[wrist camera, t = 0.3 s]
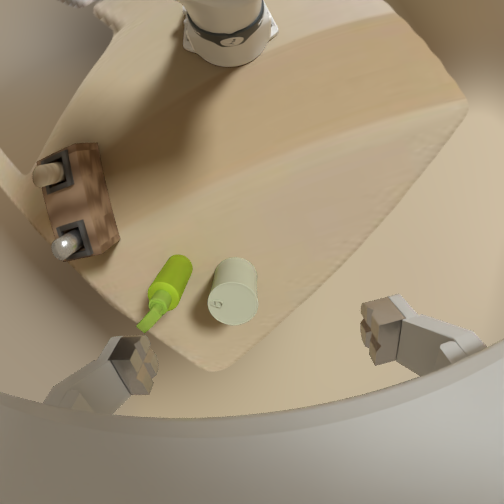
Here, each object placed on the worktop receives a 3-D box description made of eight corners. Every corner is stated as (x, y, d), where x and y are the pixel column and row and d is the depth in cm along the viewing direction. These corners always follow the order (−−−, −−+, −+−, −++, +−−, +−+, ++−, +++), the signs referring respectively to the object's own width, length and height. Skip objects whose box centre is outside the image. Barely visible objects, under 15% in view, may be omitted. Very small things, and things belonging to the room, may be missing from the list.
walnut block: (60, 158, 51) (33, 162, 42) (97, 142, 50) (72, 143, 41) (83, 247, 59) (60, 263, 49) (120, 239, 58) (99, 255, 49)
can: (214, 255, 60) (206, 281, 48) (259, 258, 60) (261, 285, 49) (213, 294, 63) (206, 325, 52) (255, 297, 63) (256, 329, 52)
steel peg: (70, 229, 50) (48, 241, 42) (84, 225, 50) (63, 237, 42) (76, 247, 51) (55, 261, 44) (90, 243, 51) (70, 258, 44)
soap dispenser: (158, 270, 61) (125, 320, 42) (177, 249, 59) (147, 295, 40) (178, 287, 62) (153, 342, 43) (198, 267, 60) (177, 319, 42)
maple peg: (55, 164, 45) (30, 169, 38) (68, 158, 45) (44, 162, 37) (58, 183, 46) (35, 190, 39) (72, 177, 46) (49, 183, 39)
